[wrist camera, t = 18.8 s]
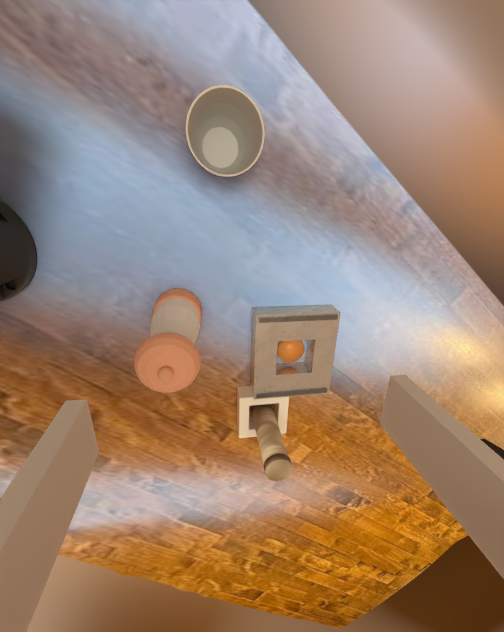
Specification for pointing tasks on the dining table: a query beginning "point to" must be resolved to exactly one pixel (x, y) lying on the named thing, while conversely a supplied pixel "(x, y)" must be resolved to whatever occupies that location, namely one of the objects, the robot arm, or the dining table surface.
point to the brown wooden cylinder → (271, 443)
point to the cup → (225, 131)
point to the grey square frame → (288, 326)
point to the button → (290, 350)
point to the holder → (247, 399)
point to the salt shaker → (171, 343)
